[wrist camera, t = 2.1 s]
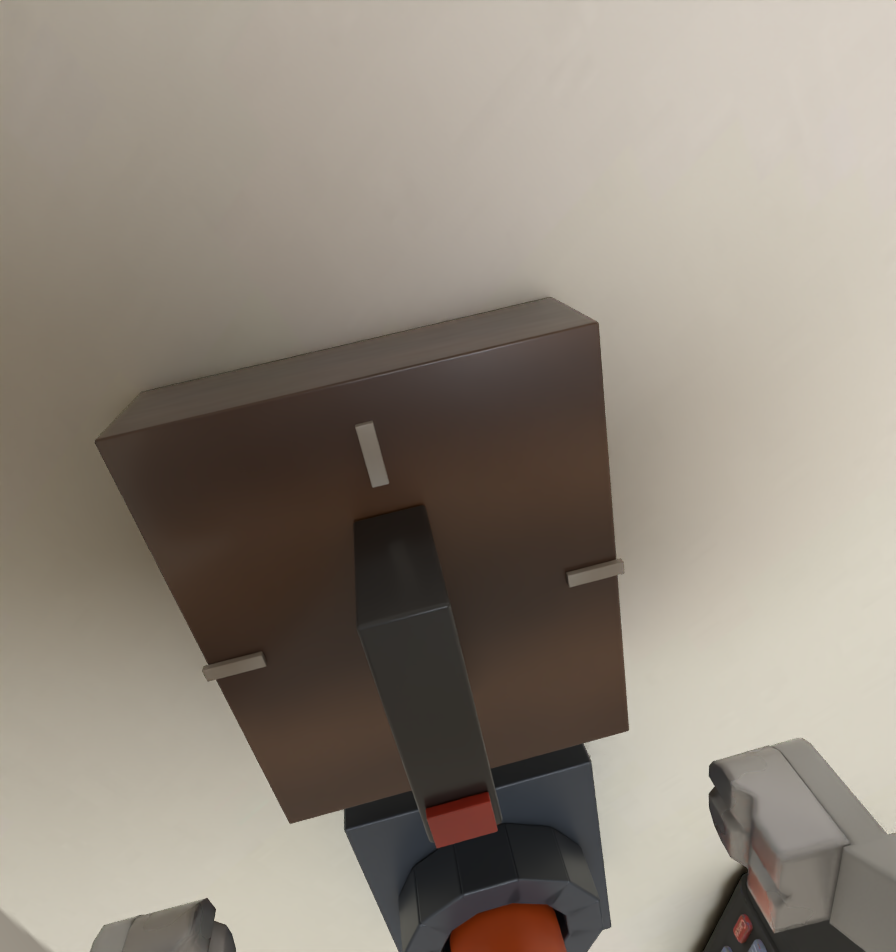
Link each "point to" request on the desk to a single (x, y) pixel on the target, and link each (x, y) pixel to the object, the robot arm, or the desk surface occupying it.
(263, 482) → the panel
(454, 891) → the button block
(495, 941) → the button
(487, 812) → the handle
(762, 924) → the card reader
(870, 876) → the robot arm
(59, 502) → the desk surface
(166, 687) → the desk surface
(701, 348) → the desk surface
